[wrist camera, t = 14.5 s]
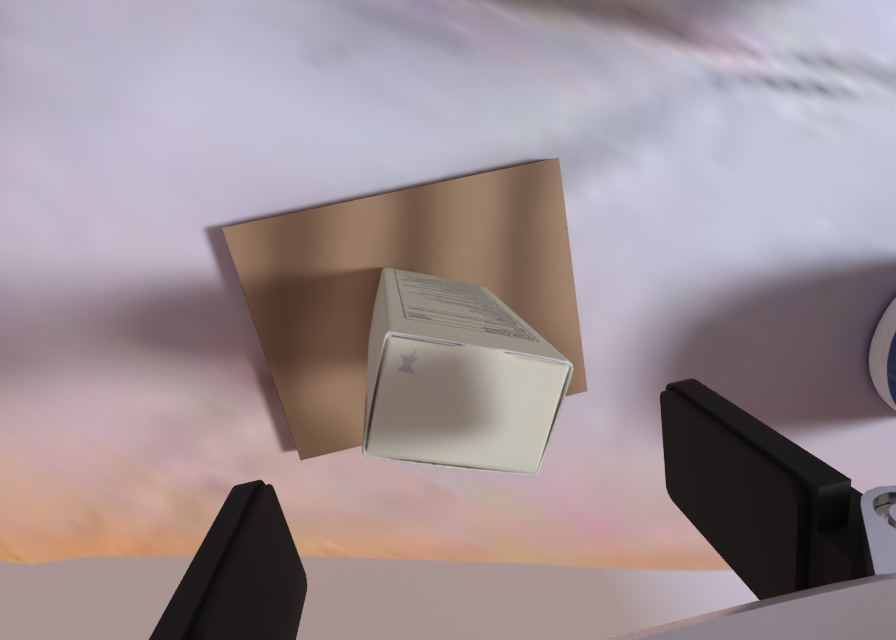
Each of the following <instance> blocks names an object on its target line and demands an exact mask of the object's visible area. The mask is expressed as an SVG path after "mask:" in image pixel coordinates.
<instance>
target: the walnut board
mask: <svg viewBox="0 0 896 640" xmlns="http://www.w3.org/2000/svg"><path fill="white" fill-rule="evenodd" d="M222 230H223V232H224V235H225V238H226V241H227V244H228V247H229V250H230V253H231V256H232V259H233V262H234V265H235V268H236V271H237V274H238V277H239V280H240V283H241V286H242V288H243V291H244V294H245V297H246V300H247V303H248V306H249V309H250V312H251V315H252V318H253V321H254V324H255V327H256V330H257V333H258V336H259V339H260V342H261V345H262V347H263V350H264V353H265V356H266V359H267V362H268V365H269V368H270V371H271V374H272V377H273V380H274V383H275V386H276V389H277V392H278V395H279V398H280V401H281V404H282V406H283V409H284V412H285V415H286V418H287V421H288V424H289V427H290V430H291V433H292V436H293V439H294V442H295V445H296V448H297V451H298V454H299V457H300V460H304V459H308V458H312V457H316V456H321V455H325V454H329V453H333V452H337V451H341V450H345V449H350V448H354V447H358V446H362V441H363V423H364V406H365V389H366V376H367V362H368V347H369V334H370V327H371V320H372V314H373V309H374V304H375V299H376V294H377V289H378V285H379V280H380V276H381V272H382V269H383V268H391V269H397V270H404V271H410V272H416V273H421V274H427V275H432V276H437V277H442V278H447V279H452V280H457V281H462V282H466V283H471V284H475V285H479V286H483V287H486V288H487V289H488V290H489V291H490V292H492V293H493V294H494V295H495V296H496V297H497V298H498V299H500V300H501V301H502V302H503V303H504V304H505V305H506V306H507V307H509V308H510V309H511V310H512V311H513V312H514V313H515V314H517V315H518V316H519V317H520V318H521V319H522V320H523V321H525V322H526V323H527V324H528V325H529V326H530V327H531V328H532V329H534V330H535V331H536V332H537V333H538V334H539V335H540V336H541V337H543V338H544V339H545V340H546V341H547V342H548V343H549V344H551V345H552V346H553V347H554V348H555V349H556V350H558V351H559V352H560V353H561V354H562V355H563V356H564V357H566V358H567V359H568V360H569V361H570V362H571V363H572V364H573V373H572V376H571V379H570V382H569V385H568V389H567V392H566V395H565V396H569V395H573V394H577V393H581V392H585V391H587V384H586V376H585V368H584V359H583V351H582V343H581V335H580V327H579V319H578V310H577V302H576V294H575V286H574V278H573V269H572V261H571V253H570V245H569V237H568V228H567V220H566V212H565V204H564V196H563V187H562V179H561V171H560V163H559V158H554V159H549V160H544V161H539V162H535V163H530V164H525V165H520V166H515V167H511V168H506V169H501V170H496V171H492V172H487V173H482V174H477V175H472V176H468V177H463V178H458V179H453V180H449V181H444V182H439V183H434V184H429V185H425V186H420V187H415V188H410V189H405V190H401V191H396V192H391V193H386V194H382V195H377V196H372V197H367V198H362V199H358V200H353V201H348V202H343V203H338V204H334V205H329V206H324V207H319V208H315V209H310V210H305V211H300V212H295V213H291V214H286V215H281V216H276V217H271V218H267V219H262V220H257V221H252V222H248V223H243V224H238V225H233V226H228V227H224V228H222Z"/></svg>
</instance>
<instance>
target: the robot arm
mask: <svg viewBox="0 0 896 640" xmlns="http://www.w3.org/2000/svg"><path fill="white" fill-rule="evenodd" d="M660 403H661V418H662V433H663V448H664V463H665V478H666V488H667V491H668V494H669V496H670V498H671V499H672V501H673V502H674V503H675V504H676V506H677V507H678V508H679V509H680V510H681V511H682V512H683V513H684V515H685V516H686V517H687V518H688V519H689V520H690V521H691V523H692V524H693V525H694V526H695V527H696V528H697V529H698V531H699V532H700V533H701V534H702V535H703V536H704V537H705V538H706V540H707V541H708V542H709V543H710V544H711V545H712V546H713V548H714V549H715V550H716V551H717V552H718V553H719V554H720V556H721V557H722V558H723V559H724V560H725V561H726V562H727V564H728V565H729V566H730V567H731V568H732V569H733V570H734V571H735V573H736V574H737V575H738V576H739V577H740V578H741V579H742V581H743V582H744V583H745V584H746V585H747V586H748V587H749V589H750V590H751V591H752V592H753V593H754V594H755V595H756V596H757V598H758V599H759V600H760V601H755V602H751V603H747V604H743V605H739V606H735V607H731V608H728V609H723V610H719V611H716V612H712V613H708V614H703V615H700V616H696V617H692V618H688V619H684V620H680V621H676V622H672V623H668V624H664V625H660V626H656V627H652V628H648V629H644V630H640V631H636V632H632V633H628V634H625V635H620V636H617V637H613V638H609V639H605V640H896V486H882V487H876V488H873V489H870V490H868V491H867V492H866V493H864V494H862V493H860V492H859V491H857V490H856V489H854V488H853V487H851V479H850V478H848V477H846V476H845V475H843V474H842V473H840V472H839V471H837V470H836V469H834V468H832V467H831V466H829V465H828V464H826V463H825V462H823V461H822V460H820V459H818V458H817V457H815V456H814V455H812V454H811V453H809V452H807V451H806V450H804V449H803V448H801V447H800V446H798V445H797V444H795V443H793V442H792V441H790V440H789V439H787V438H786V437H784V436H783V435H781V434H779V433H778V432H776V431H775V430H773V429H772V428H770V427H769V426H767V425H765V424H764V423H762V422H761V421H759V420H758V419H756V418H755V417H753V416H751V415H750V414H748V413H747V412H745V411H744V410H742V409H741V408H739V407H737V406H736V405H734V404H733V403H731V402H730V401H728V400H727V399H725V398H723V397H722V396H720V395H719V394H717V393H716V392H714V391H712V390H711V389H709V388H708V387H706V386H705V385H703V384H702V383H700V382H698V381H697V380H695V379H687V380H683V381H679V382H674V383H670V384H668V385H667V386H666V391H663V392H662V393H661V395H660ZM306 592H307V579H306V574H305V571H304V568H303V566H302V563H301V560H300V557H299V555H298V552H297V549H296V547H295V544H294V541H293V539H292V536H291V533H290V530H289V528H288V525H287V522H286V520H285V517H284V514H283V512H282V509H281V506H280V503H279V501H278V498H277V495H276V493H275V490H274V488H273V486H272V485H271V484H268V485H265V483H264V482H263V481H262V480H257V481H252V482H248V483H244V484H240V485H236V486H234V487H233V488H232V490H231V492H230V493H229V495H228V497H227V499H226V501H225V503H224V504H223V506H222V508H221V510H220V512H219V513H218V515H217V517H216V519H215V521H214V522H213V524H212V526H211V528H210V530H209V532H208V533H207V535H206V537H205V539H204V541H203V542H202V544H201V546H200V548H199V550H198V551H197V553H196V555H195V557H194V559H193V561H192V562H191V564H190V566H189V568H188V570H187V571H186V573H185V575H184V577H183V579H182V581H181V582H180V584H179V586H178V588H177V590H176V591H175V593H174V595H173V597H172V599H171V600H170V602H169V604H168V606H167V608H166V610H165V611H164V613H163V615H162V617H161V619H160V620H159V622H158V624H157V626H156V628H155V630H154V631H153V633H152V635H151V637H150V638H149V640H296V636H297V632H298V627H299V623H300V619H301V614H302V610H303V605H304V601H305V597H306Z"/></svg>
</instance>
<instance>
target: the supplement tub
mask: <svg viewBox="0 0 896 640" xmlns="http://www.w3.org/2000/svg"><path fill="white" fill-rule="evenodd" d="M869 369H870V375H871V378H872V381H873V384H874V386H875V388H876V390H877V391H878V393H879V395H880V396H881V397H882V399H883V400H884V401H885V402H886V403H887V404H888V405H889V406H890V407H892V408H893V409H894V410H895V411H896V298H895V299H894V300H893V301H892V302H891V304H890V305H889V306H888V308H887V309H886V311H885V313H884V314H883V316H882V318H881V320H880V322H879V324H878V325H877V328H876V330H875V333H874V336H873V339H872V342H871V347H870V353H869Z"/></svg>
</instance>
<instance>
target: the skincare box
mask: <svg viewBox="0 0 896 640" xmlns="http://www.w3.org/2000/svg"><path fill="white" fill-rule="evenodd" d="M572 373H573V364H572V363H571V362H570V361H569V360H568V359H567V358H566V357H564V356H563V355H562V354H561V353H560V352H559V351H558V350H556V349H555V348H554V347H553V346H552V345H551V344H549V343H548V342H547V341H546V340H545V339H544V338H543V337H541V336H540V335H539V334H538V333H537V332H536V331H535V330H534V329H532V328H531V327H530V326H529V325H528V324H527V323H526V322H525V321H523V320H522V319H521V318H520V317H519V316H518V315H517V314H515V313H514V312H513V311H512V310H511V309H510V308H509V307H507V306H506V305H505V304H504V303H503V302H502V301H501V300H500V299H498V298H497V297H496V296H495V295H494V294H493V293H492V292H490V291H489V290H488V289H487V288H486V287H483V286H479V285H475V284H471V283H466V282H462V281H457V280H452V279H447V278H442V277H437V276H432V275H427V274H421V273H416V272H410V271H404V270H397V269H391V268H383V269H382V272H381V276H380V280H379V285H378V289H377V294H376V299H375V304H374V309H373V314H372V320H371V327H370V334H369V347H368V362H367V376H366V389H365V406H364V423H363V441H362V452H363V454H364V455H365V456H367V457H372V458H379V459H383V460H390V461H397V462H404V463H411V464H418V465H427V466H435V467H444V468H453V469H463V470H473V471H484V472H493V473H507V474H520V475H531V476H535V475H537V474H538V473H539V471H540V468H541V465H542V462H543V459H544V456H545V454H546V451H547V448H548V445H549V442H550V439H551V437H552V434H553V431H554V429H555V425H556V422H557V419H558V416H559V413H560V410H561V407H562V404H563V401H564V398H565V395H566V392H567V389H568V385H569V382H570V379H571V376H572Z"/></svg>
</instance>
